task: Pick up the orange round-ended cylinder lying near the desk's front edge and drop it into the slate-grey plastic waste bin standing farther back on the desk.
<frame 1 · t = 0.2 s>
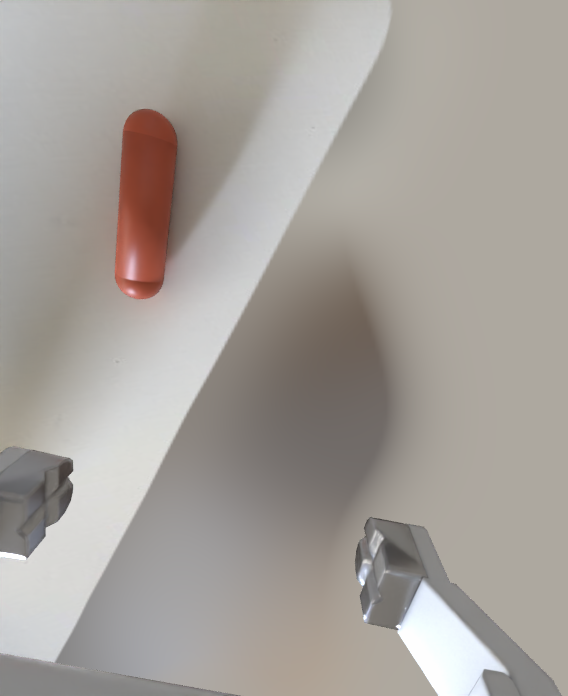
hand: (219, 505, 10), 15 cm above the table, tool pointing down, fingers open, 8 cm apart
orange round-ended cylinder: (154, 213, 22), on the table
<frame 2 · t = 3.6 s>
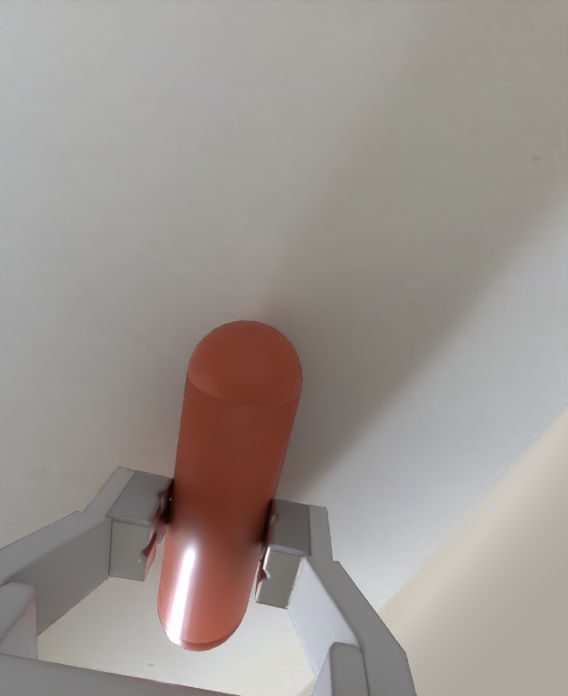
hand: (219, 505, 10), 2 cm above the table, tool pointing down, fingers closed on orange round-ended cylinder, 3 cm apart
orange round-ended cylinder: (231, 466, 11), on the table, touching gripper
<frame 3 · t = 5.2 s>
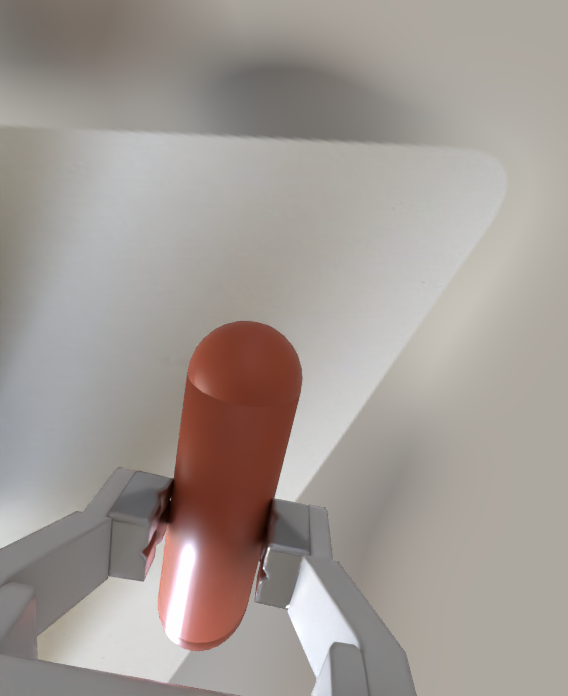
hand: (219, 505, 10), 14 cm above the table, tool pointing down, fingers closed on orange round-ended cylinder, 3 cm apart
orange round-ended cylinder: (231, 466, 11), point 12 cm above the table, touching gripper
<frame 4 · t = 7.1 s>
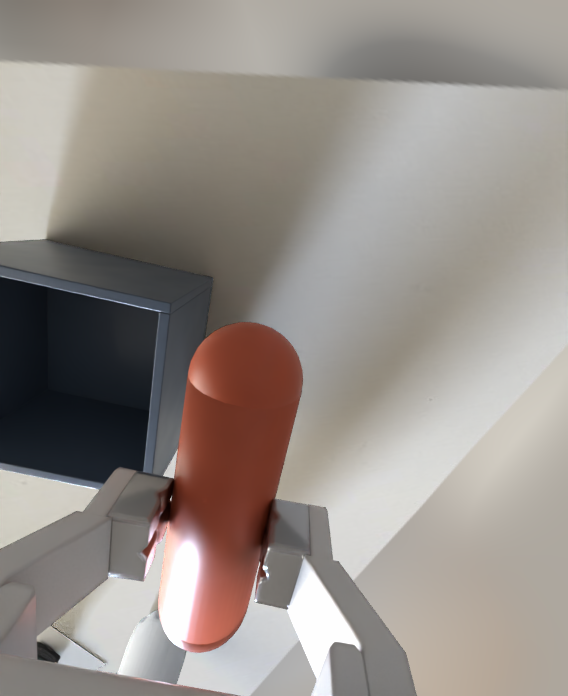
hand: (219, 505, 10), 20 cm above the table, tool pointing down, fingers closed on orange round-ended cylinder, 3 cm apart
bin: (124, 338, 29), on the table
shiny metal sheet: (1, 669, 45), on the table
bottle: (166, 621, 41), on the table
orange round-ended cylinder: (231, 467, 11), point 18 cm above the table, touching gripper
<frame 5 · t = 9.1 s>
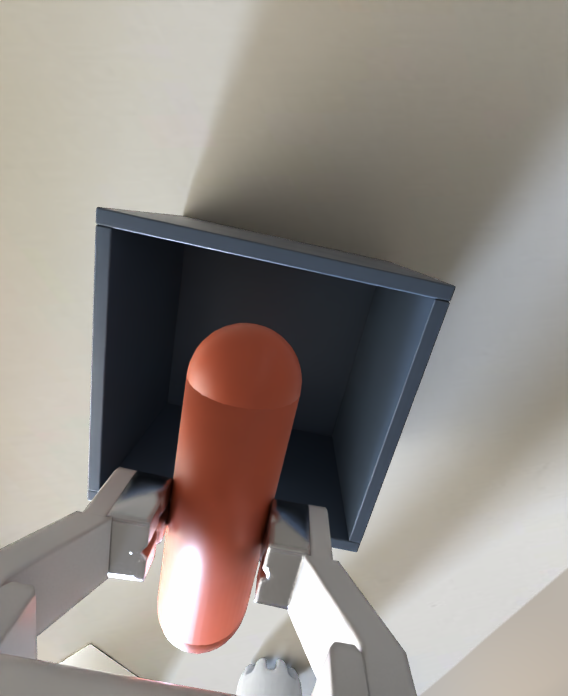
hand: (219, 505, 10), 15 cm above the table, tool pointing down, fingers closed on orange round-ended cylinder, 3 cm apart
bin: (266, 339, 24), on the table
bottle: (270, 669, 35), on the table
orange round-ended cylinder: (231, 468, 11), point 13 cm above the table, touching gripper
when the fingers open (10 cm above the table, at t = 10.8 s): orange round-ended cylinder drops 8 cm, resting on bin.
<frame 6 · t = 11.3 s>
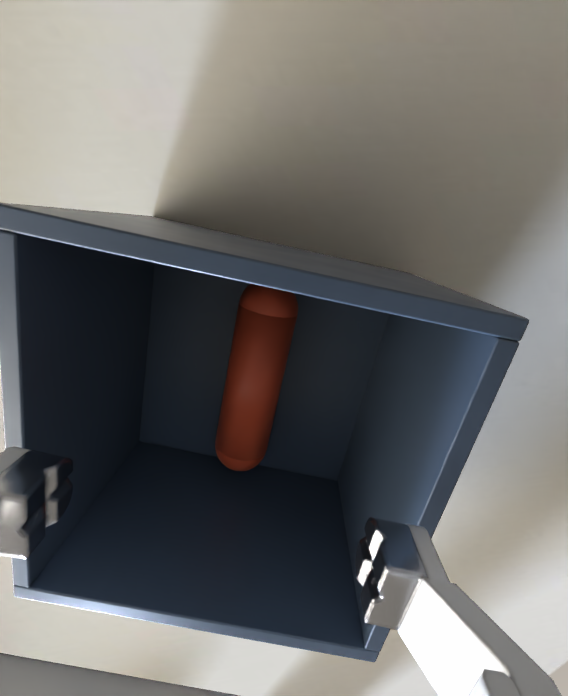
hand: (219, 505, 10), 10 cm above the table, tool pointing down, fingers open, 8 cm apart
bin: (258, 366, 19), on the table
orange round-ended cylinder: (257, 370, 19), point 1 cm above the table, touching bin
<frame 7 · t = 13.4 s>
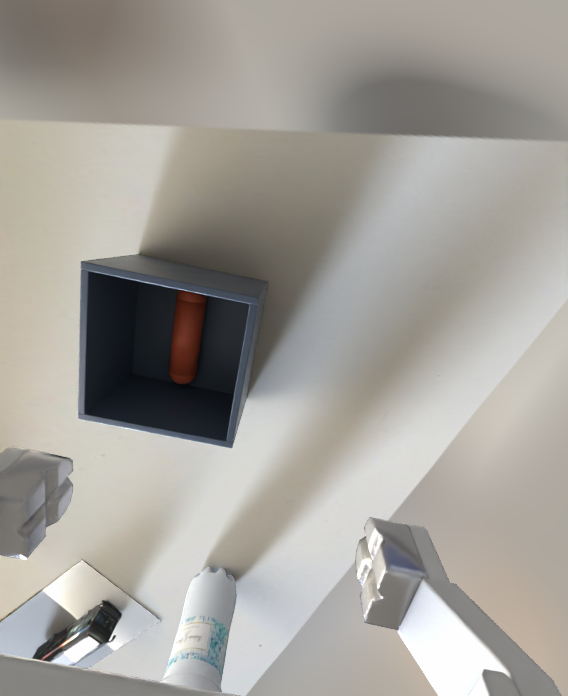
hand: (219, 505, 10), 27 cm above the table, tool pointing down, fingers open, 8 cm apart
bin: (194, 331, 37), on the table
shiny metal sheet: (67, 629, 51), on the table
bottle: (216, 578, 48), on the table
orange round-ended cylinder: (193, 332, 36), point 1 cm above the table, tilted 11°, touching bin
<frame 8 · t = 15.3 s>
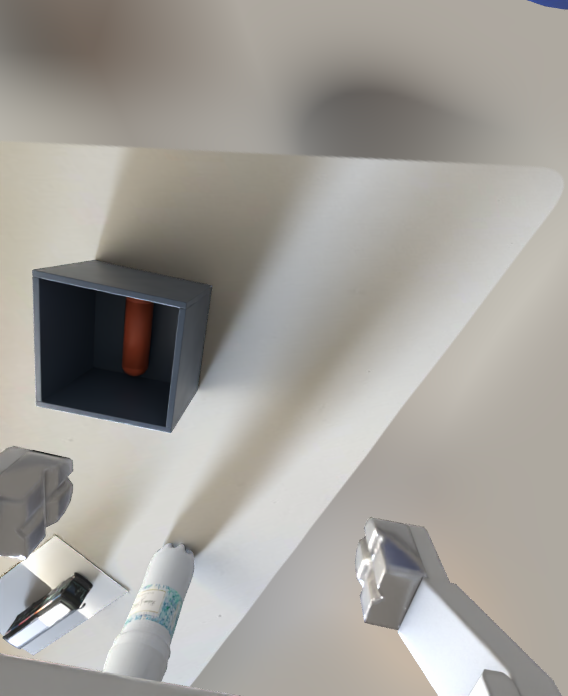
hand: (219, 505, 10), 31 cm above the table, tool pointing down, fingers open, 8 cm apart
bin: (148, 329, 41), on the table
shiny metal sheet: (44, 598, 56), on the table
bottle: (177, 553, 52), on the table
orange round-ended cylinder: (146, 330, 40), point 1 cm above the table, tilted 20°, touching bin
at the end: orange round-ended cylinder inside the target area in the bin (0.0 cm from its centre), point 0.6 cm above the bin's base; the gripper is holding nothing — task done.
